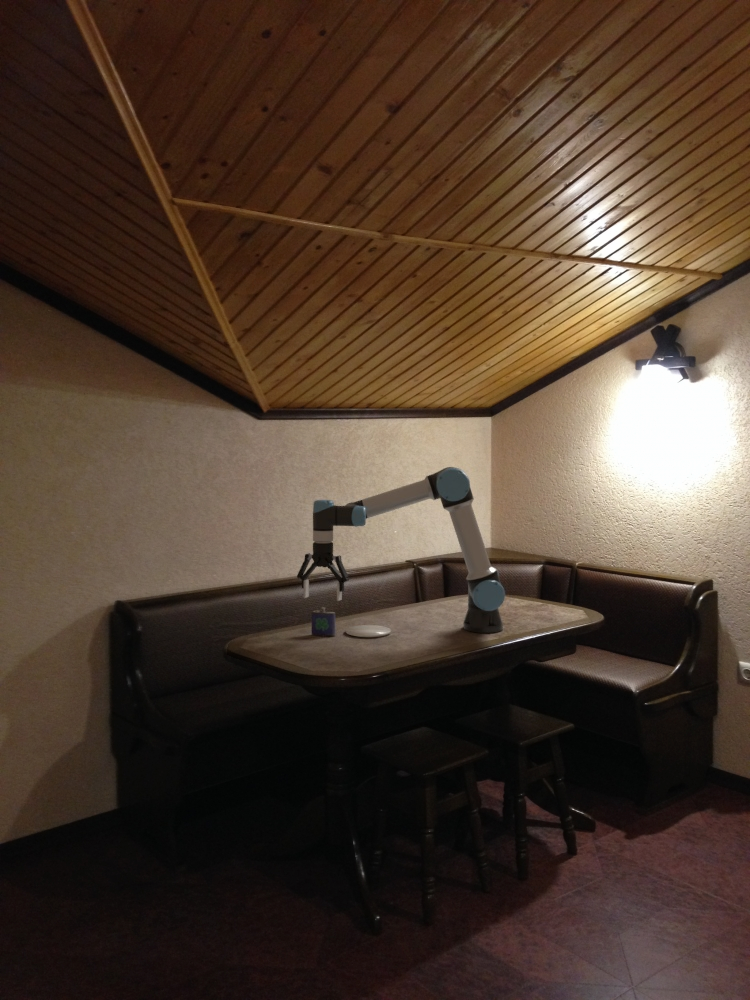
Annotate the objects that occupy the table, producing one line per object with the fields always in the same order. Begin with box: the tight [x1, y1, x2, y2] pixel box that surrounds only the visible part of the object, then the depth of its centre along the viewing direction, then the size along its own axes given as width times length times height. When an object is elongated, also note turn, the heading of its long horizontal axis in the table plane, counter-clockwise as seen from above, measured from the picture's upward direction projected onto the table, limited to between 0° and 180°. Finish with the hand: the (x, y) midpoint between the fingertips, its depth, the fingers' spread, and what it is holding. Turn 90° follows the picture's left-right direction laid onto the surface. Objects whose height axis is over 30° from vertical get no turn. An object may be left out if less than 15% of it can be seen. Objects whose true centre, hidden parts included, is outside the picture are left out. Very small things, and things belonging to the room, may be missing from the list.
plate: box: [345, 624, 392, 638], centre depth 310 cm, size 17×17×1 cm
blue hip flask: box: [311, 606, 336, 638], centre depth 306 cm, size 9×3×11 cm, turn 74°
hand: (322, 598), depth 306 cm, fingers open, 13 cm apart
